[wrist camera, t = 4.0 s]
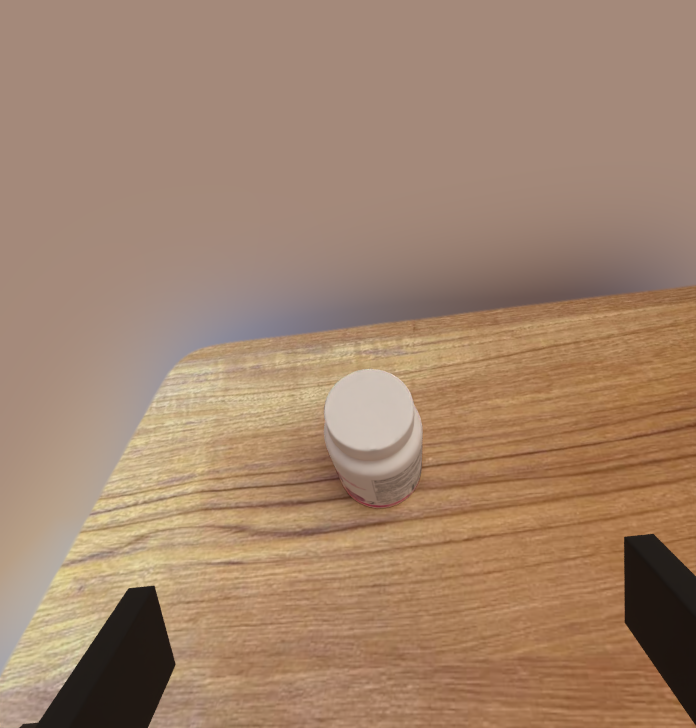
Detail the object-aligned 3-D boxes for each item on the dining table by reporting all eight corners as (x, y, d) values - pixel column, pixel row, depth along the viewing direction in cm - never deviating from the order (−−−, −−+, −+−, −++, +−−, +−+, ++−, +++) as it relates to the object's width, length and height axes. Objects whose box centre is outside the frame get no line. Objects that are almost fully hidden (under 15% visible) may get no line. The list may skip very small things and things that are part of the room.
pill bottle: (324, 457, 30) (296, 392, 22) (392, 417, 30) (385, 342, 23) (366, 527, 27) (348, 480, 20) (437, 481, 28) (445, 421, 21)
